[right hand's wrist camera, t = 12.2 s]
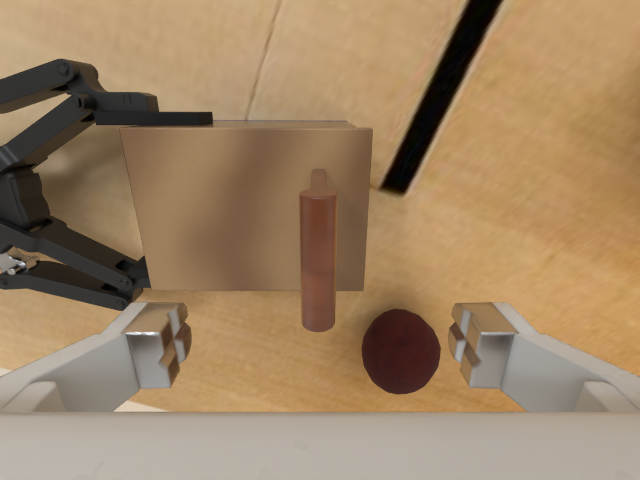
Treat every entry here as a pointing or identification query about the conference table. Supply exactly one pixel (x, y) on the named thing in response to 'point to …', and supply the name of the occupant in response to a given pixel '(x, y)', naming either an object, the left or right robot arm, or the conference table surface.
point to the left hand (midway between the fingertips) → (215, 198)
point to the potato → (400, 352)
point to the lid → (253, 209)
